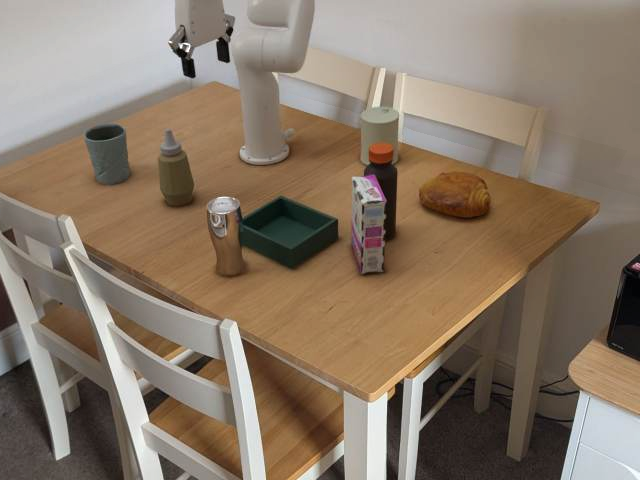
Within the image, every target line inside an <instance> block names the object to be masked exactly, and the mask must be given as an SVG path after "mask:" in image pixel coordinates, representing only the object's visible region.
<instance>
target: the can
mask: <svg viewBox="0 0 640 480" xmlns="http://www.w3.org/2000/svg"><path fill="white" fill-rule="evenodd" d="M399 122H400V112H399V111H398V110H396V109H395V108H392V107H387V106H374V107H370V108H367V109H364V110H363V111H362V112H361V113H360V134H361V135H360V157H359V158H360V162H361V163H362V164H363V165H366V166H368V165H369V164H370V162H369V147H370V146H371V145H372V144H375V143H388V144H391V145H392V146H393V148H394V153H393V161H392V164H393V165H394V164H396V163H397V162H398V161H399V155H398V154H399V153H398V151H399V126H400V125H399V124H400V123H399Z"/></svg>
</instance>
